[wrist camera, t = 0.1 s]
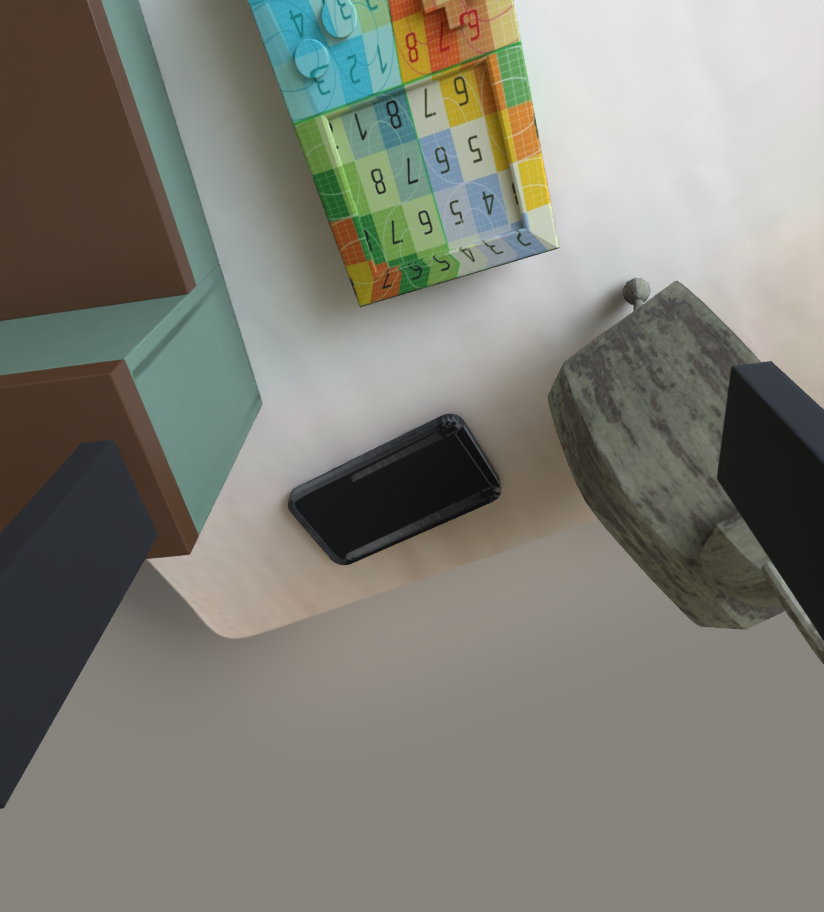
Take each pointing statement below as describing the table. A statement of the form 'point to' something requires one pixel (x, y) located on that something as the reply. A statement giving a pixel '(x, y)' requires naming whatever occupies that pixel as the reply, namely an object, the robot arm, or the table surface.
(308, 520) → the phone
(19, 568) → the robot arm
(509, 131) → the puzzle game
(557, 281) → the table surface
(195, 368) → the step shelf
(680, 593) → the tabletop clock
